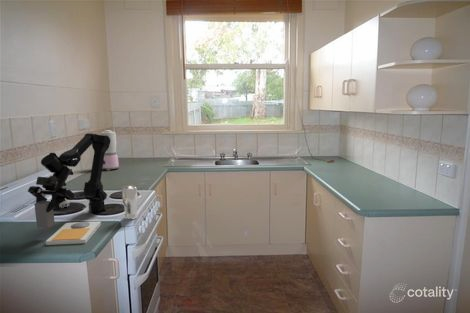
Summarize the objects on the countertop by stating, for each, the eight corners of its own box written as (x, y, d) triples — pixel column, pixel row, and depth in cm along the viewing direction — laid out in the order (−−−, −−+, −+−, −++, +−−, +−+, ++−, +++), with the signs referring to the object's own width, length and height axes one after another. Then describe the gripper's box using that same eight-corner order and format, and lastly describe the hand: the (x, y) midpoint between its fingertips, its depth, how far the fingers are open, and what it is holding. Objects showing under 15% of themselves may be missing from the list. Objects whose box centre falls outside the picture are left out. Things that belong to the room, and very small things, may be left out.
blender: (113, 167, 282) (110, 129, 276) (122, 168, 275) (119, 130, 269) (96, 170, 269) (93, 131, 263) (105, 172, 262) (102, 131, 256)
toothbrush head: (70, 189, 197) (68, 194, 174) (71, 200, 197) (69, 207, 175) (60, 190, 195) (57, 195, 172) (61, 202, 195) (58, 208, 172)
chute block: (44, 223, 140) (42, 200, 138) (54, 224, 139) (52, 201, 137) (37, 226, 136) (34, 203, 134) (47, 227, 135) (44, 204, 133)
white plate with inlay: (66, 225, 150) (66, 222, 150) (101, 224, 151) (100, 220, 151) (46, 244, 130) (45, 240, 130) (85, 243, 131) (85, 238, 131)
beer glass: (129, 214, 164) (127, 184, 162) (141, 215, 162) (139, 185, 160) (120, 219, 158) (118, 188, 155) (133, 220, 156) (131, 189, 153)
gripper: (28, 167, 139) (8, 200, 130) (66, 169, 135) (48, 203, 126) (45, 181, 148) (27, 213, 139) (81, 183, 144) (65, 216, 135)
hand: (41, 211), depth 135 cm, fingers closed on chute block, 5 cm apart
